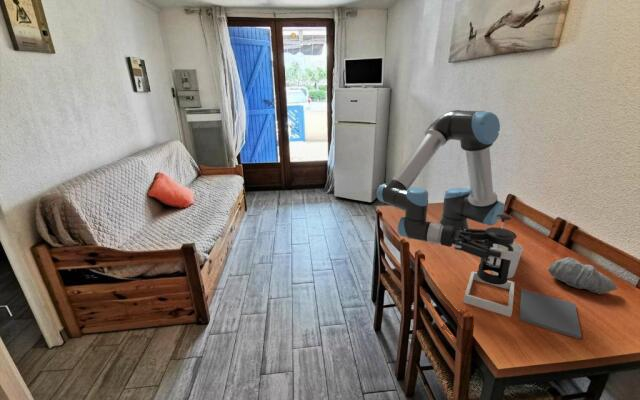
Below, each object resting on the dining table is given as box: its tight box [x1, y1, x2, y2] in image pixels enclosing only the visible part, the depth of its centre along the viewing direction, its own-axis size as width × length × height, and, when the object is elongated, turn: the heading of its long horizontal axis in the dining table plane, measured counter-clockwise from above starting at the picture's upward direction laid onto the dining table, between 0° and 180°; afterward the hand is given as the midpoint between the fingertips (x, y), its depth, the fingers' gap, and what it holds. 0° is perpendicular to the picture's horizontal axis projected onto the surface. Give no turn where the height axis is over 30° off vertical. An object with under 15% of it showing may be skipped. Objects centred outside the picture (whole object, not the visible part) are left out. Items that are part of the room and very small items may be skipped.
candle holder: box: [491, 241, 524, 279], centre depth 119 cm, size 10×10×12 cm
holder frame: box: [463, 271, 515, 318], centre depth 107 cm, size 14×17×3 cm
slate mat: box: [519, 289, 582, 340], centre depth 98 cm, size 15×17×1 cm
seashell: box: [547, 257, 618, 295], centre depth 110 cm, size 16×15×10 cm
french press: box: [476, 213, 518, 285], centre depth 101 cm, size 12×9×23 cm
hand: (513, 248), depth 98 cm, fingers closed on french press, 10 cm apart
